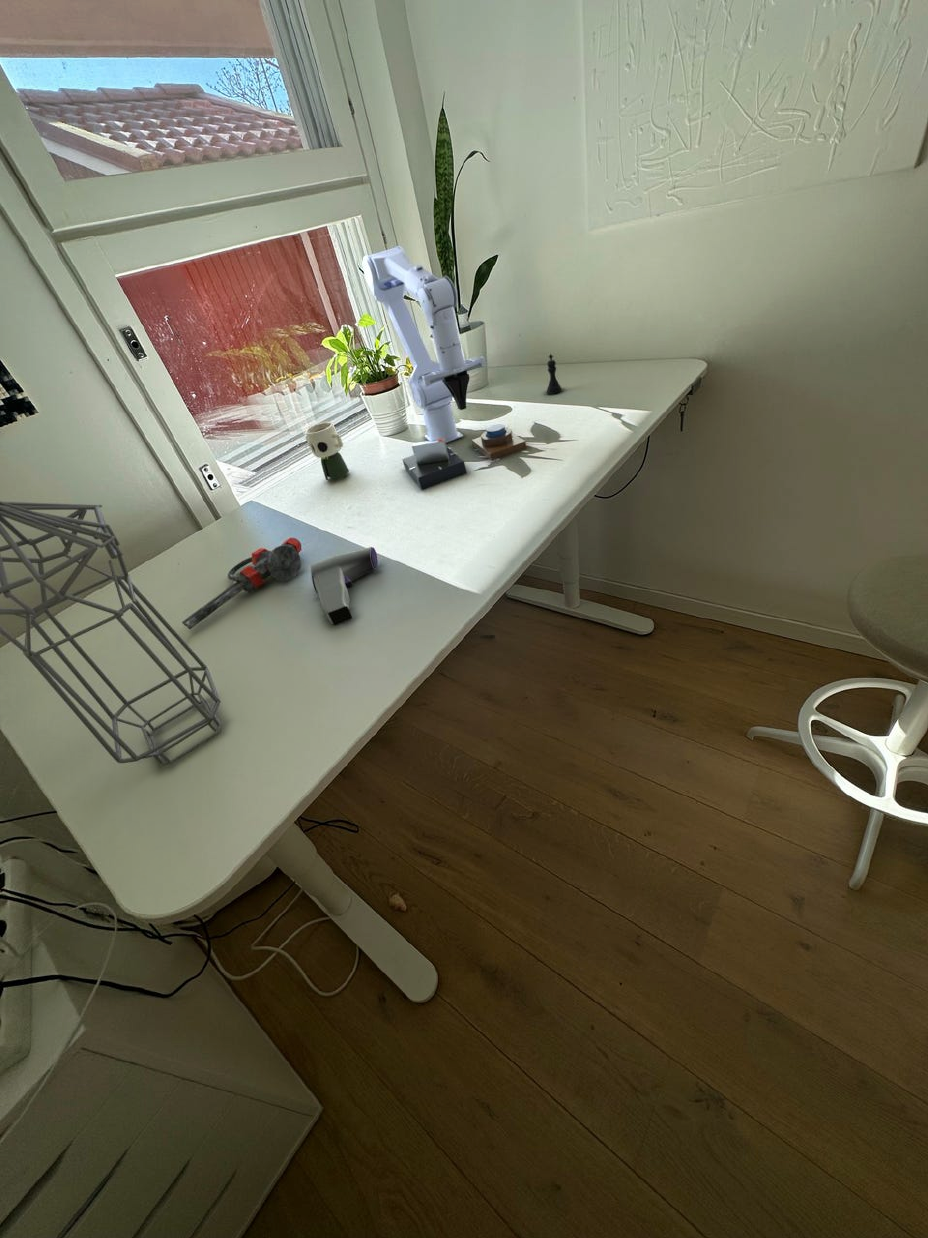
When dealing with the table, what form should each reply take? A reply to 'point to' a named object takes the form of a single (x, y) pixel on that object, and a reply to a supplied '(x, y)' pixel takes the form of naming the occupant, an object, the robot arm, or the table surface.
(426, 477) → the tap deck
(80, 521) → the geometric lantern
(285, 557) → the chainsaw
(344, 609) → the infrared thermometer
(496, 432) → the button
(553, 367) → the chess piece
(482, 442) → the button block
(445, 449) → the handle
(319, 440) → the character mug
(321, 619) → the table surface
